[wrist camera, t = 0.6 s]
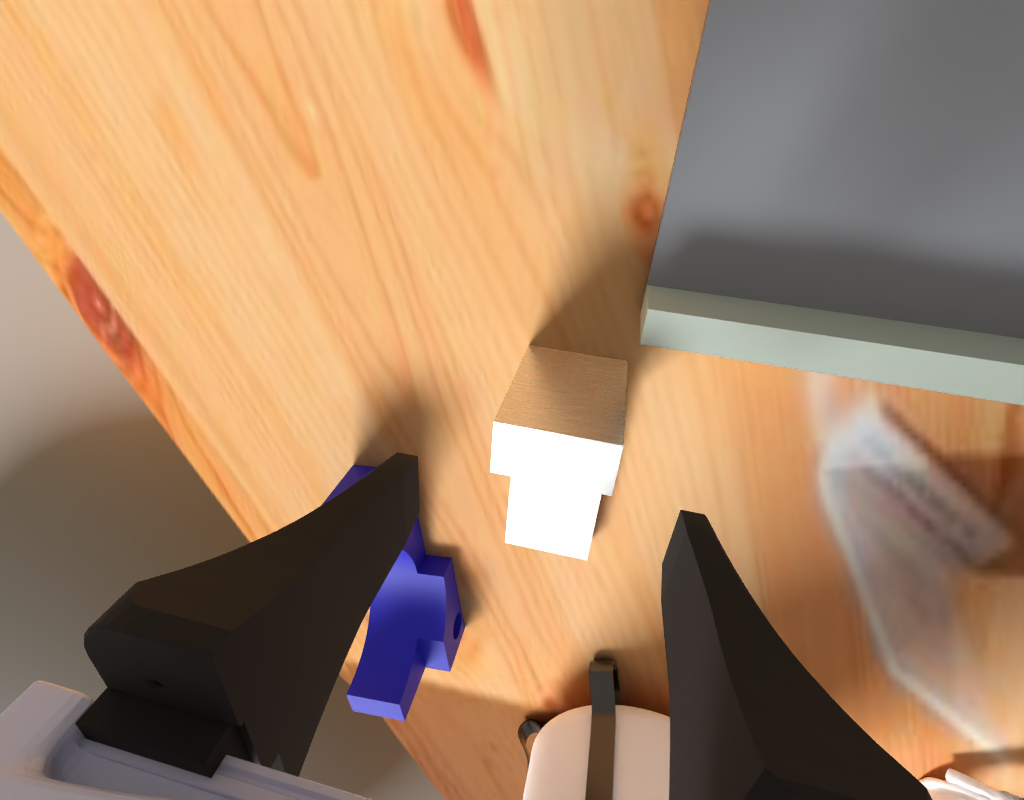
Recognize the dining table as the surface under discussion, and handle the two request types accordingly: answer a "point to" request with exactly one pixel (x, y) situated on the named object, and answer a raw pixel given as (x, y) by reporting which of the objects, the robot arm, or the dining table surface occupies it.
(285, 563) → the robot arm
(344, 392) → the dining table surface
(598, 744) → the coffee press
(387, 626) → the cable clip
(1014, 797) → the whipped cream
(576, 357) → the brushed metal block
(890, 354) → the corner tray
